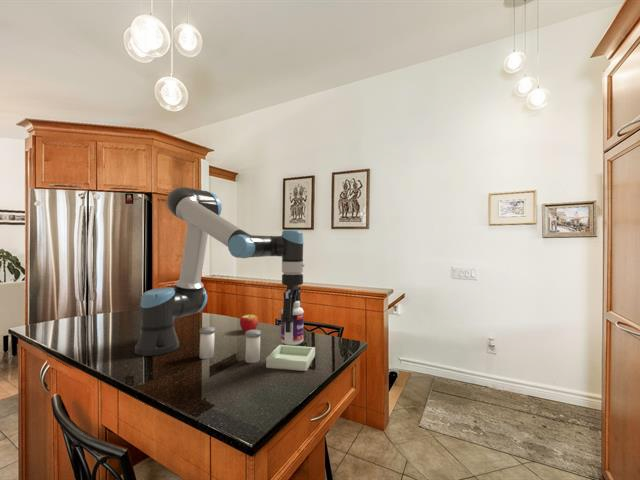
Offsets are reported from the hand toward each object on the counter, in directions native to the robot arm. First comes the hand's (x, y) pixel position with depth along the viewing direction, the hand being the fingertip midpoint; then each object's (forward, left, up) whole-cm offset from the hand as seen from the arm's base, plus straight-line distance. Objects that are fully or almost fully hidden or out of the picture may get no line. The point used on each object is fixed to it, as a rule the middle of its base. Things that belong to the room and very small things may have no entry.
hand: (292, 337), depth 109 cm
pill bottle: (0, 0, -2) cm, 2 cm away
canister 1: (-32, -2, -9) cm, 33 cm away
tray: (0, 0, -9) cm, 9 cm away
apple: (-30, +31, -9) cm, 44 cm away
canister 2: (-14, -2, -9) cm, 17 cm away
